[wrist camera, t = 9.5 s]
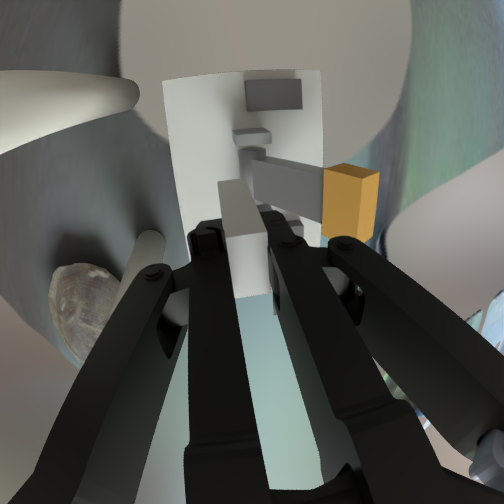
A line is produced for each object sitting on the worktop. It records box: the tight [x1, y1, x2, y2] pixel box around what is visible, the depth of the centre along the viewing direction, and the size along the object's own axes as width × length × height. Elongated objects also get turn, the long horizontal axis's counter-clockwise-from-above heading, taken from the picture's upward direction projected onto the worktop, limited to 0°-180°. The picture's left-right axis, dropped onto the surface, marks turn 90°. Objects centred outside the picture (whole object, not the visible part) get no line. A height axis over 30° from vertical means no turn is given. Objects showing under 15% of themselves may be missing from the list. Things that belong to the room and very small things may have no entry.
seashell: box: [48, 263, 120, 366], centre depth 30 cm, size 9×12×15 cm
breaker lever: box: [238, 147, 379, 243], centre depth 19 cm, size 4×2×10 cm
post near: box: [0, 70, 140, 154], centre depth 13 cm, size 3×3×20 cm
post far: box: [108, 230, 166, 320], centre depth 22 cm, size 3×3×20 cm
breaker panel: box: [162, 70, 323, 262], centre depth 23 cm, size 16×12×8 cm
